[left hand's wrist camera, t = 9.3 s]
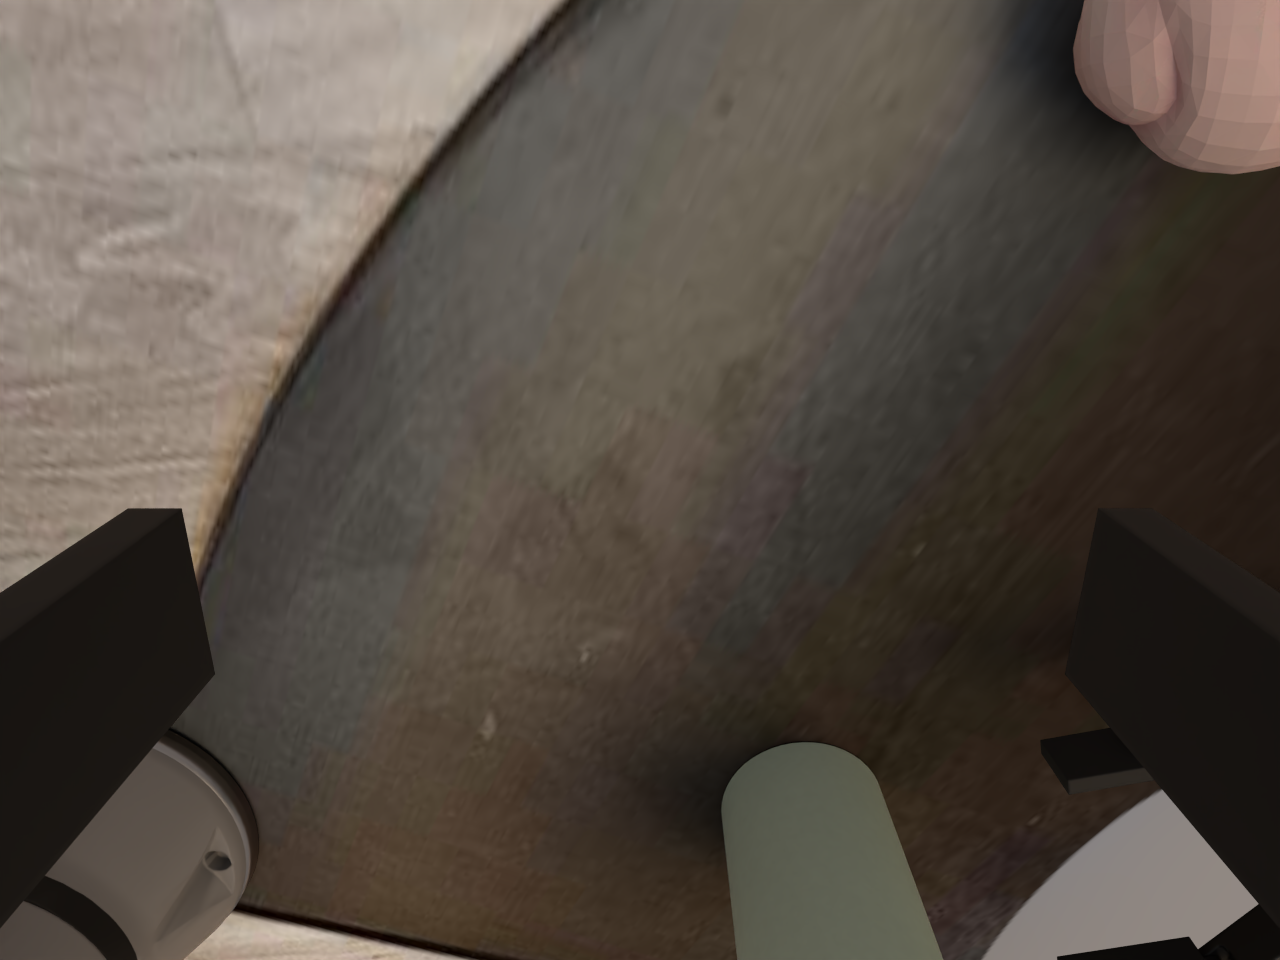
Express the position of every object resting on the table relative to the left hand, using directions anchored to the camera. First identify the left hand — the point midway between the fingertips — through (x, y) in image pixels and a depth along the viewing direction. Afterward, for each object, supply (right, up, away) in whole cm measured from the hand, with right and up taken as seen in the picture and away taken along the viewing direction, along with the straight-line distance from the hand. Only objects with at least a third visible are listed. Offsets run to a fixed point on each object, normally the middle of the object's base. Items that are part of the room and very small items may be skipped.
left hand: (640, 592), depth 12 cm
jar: (+9, -16, +34) cm, 39 cm away
